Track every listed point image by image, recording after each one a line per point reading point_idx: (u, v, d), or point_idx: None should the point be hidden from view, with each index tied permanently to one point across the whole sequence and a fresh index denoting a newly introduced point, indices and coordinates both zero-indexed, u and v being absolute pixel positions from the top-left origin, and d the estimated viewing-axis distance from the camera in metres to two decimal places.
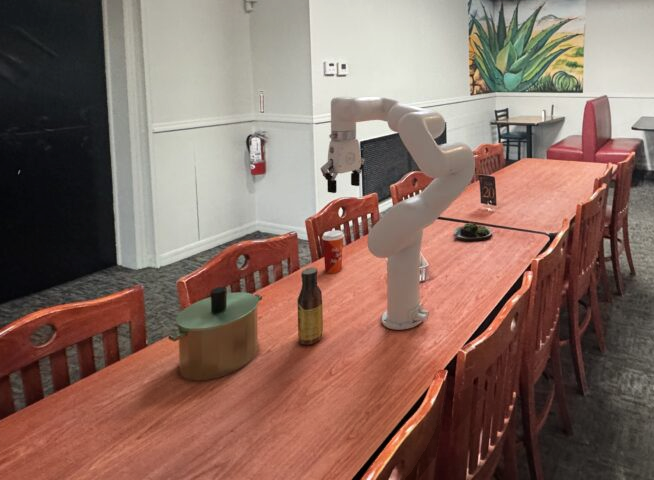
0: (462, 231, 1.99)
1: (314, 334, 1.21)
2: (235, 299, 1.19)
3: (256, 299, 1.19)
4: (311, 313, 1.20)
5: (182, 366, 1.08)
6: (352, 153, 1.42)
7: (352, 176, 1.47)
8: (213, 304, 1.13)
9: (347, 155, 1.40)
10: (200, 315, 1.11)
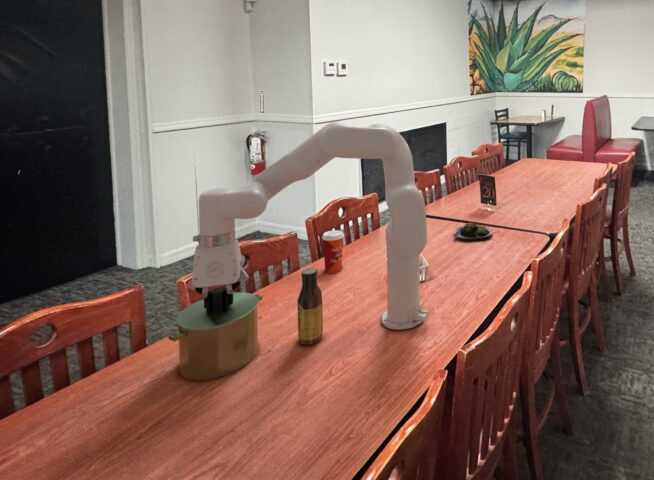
0: (462, 231, 1.99)
1: (314, 334, 1.21)
2: (235, 299, 1.19)
3: (256, 299, 1.19)
4: (311, 313, 1.20)
5: (182, 366, 1.08)
6: (219, 263, 1.11)
7: None
8: (213, 304, 1.13)
9: (209, 266, 1.11)
10: (200, 315, 1.11)
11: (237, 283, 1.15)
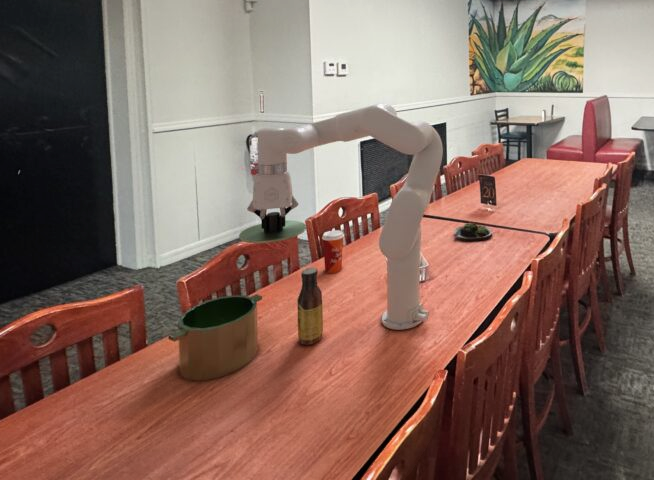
0: (462, 231, 1.99)
1: (314, 334, 1.21)
2: (285, 224, 1.38)
3: (304, 224, 1.38)
4: (311, 313, 1.20)
5: (182, 366, 1.08)
6: (275, 189, 1.30)
7: None
8: (269, 225, 1.31)
9: (267, 191, 1.29)
10: (259, 234, 1.30)
11: (289, 208, 1.33)
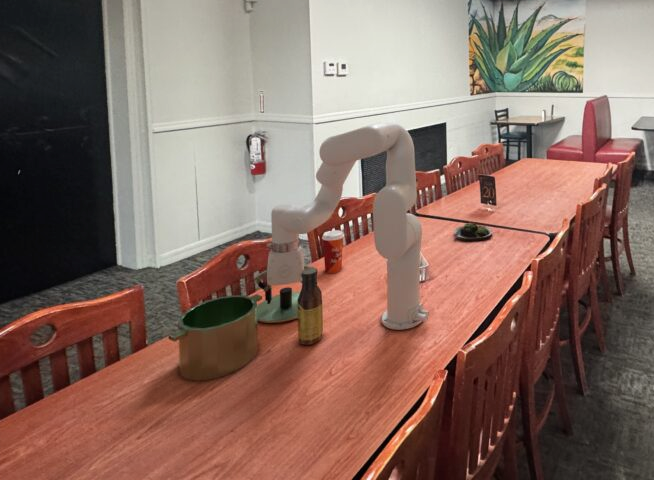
0: (462, 231, 1.99)
1: (314, 334, 1.21)
2: (297, 297, 1.44)
3: None
4: (311, 313, 1.20)
5: (182, 366, 1.08)
6: (288, 266, 1.36)
7: None
8: (282, 301, 1.38)
9: (280, 268, 1.36)
10: (272, 311, 1.36)
11: None
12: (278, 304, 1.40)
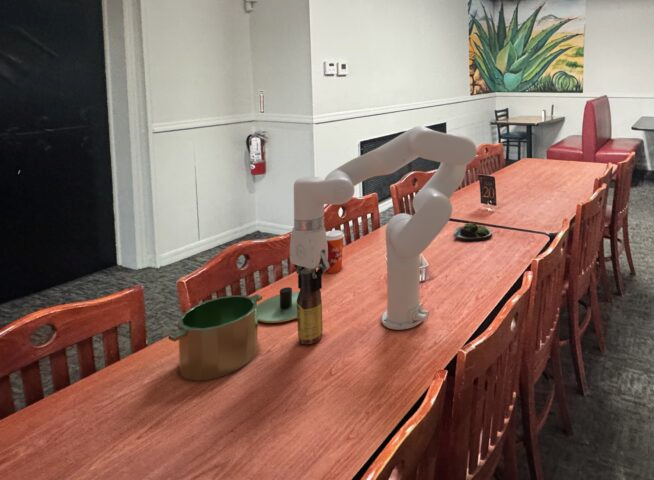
0: (462, 231, 1.99)
1: (314, 334, 1.21)
2: None
3: None
4: (311, 312, 1.20)
5: (182, 366, 1.08)
6: (303, 247, 1.19)
7: None
8: (282, 301, 1.38)
9: (297, 246, 1.20)
10: (272, 311, 1.36)
11: (319, 270, 1.20)
12: (278, 304, 1.40)
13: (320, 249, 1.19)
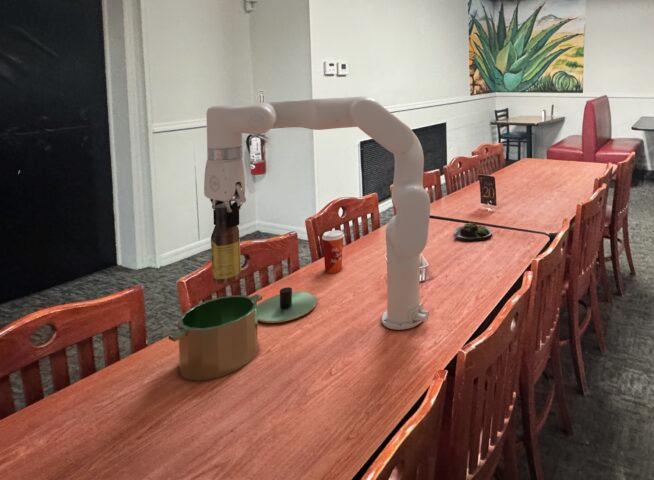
0: (462, 231, 1.99)
1: (229, 273, 1.13)
2: (297, 297, 1.44)
3: (314, 297, 1.44)
4: (225, 249, 1.12)
5: (182, 366, 1.08)
6: (216, 178, 1.11)
7: None
8: (282, 301, 1.38)
9: (211, 178, 1.12)
10: (272, 311, 1.36)
11: (234, 203, 1.11)
12: (278, 304, 1.40)
13: (235, 181, 1.11)
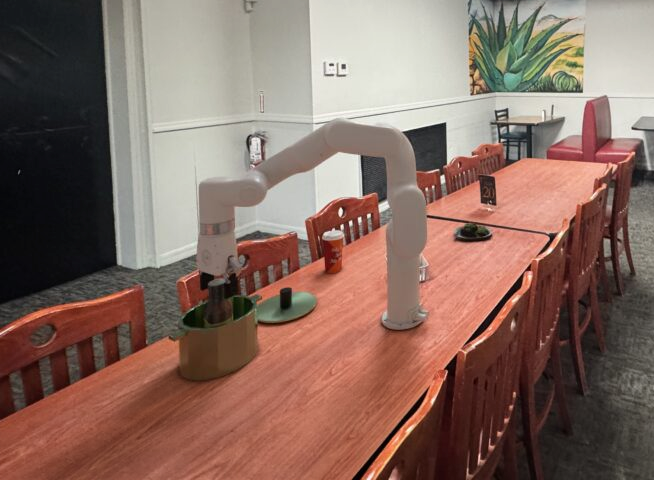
0: (462, 231, 1.99)
1: None
2: (297, 297, 1.44)
3: (314, 297, 1.44)
4: None
5: (182, 366, 1.08)
6: (208, 252, 1.11)
7: None
8: (282, 301, 1.38)
9: (203, 252, 1.12)
10: (272, 311, 1.36)
11: (233, 275, 1.10)
12: (278, 304, 1.40)
13: (227, 255, 1.11)
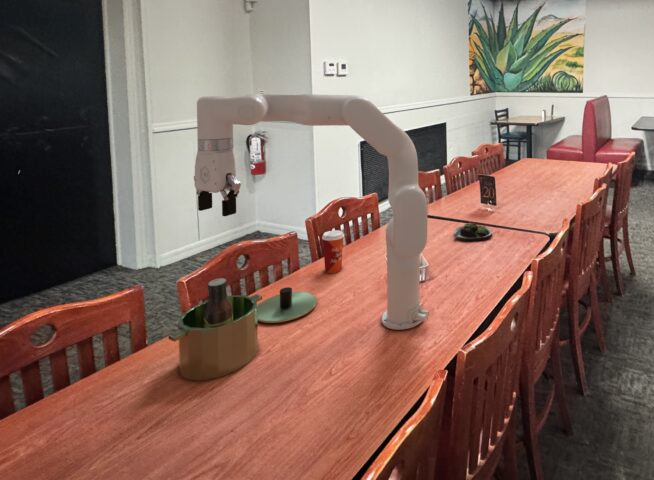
0: (462, 231, 1.99)
1: None
2: (297, 297, 1.44)
3: (314, 297, 1.44)
4: None
5: (182, 366, 1.08)
6: (206, 169, 1.10)
7: None
8: (282, 301, 1.38)
9: (201, 169, 1.11)
10: (272, 311, 1.36)
11: (231, 191, 1.09)
12: (278, 304, 1.40)
13: (225, 172, 1.10)
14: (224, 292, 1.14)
